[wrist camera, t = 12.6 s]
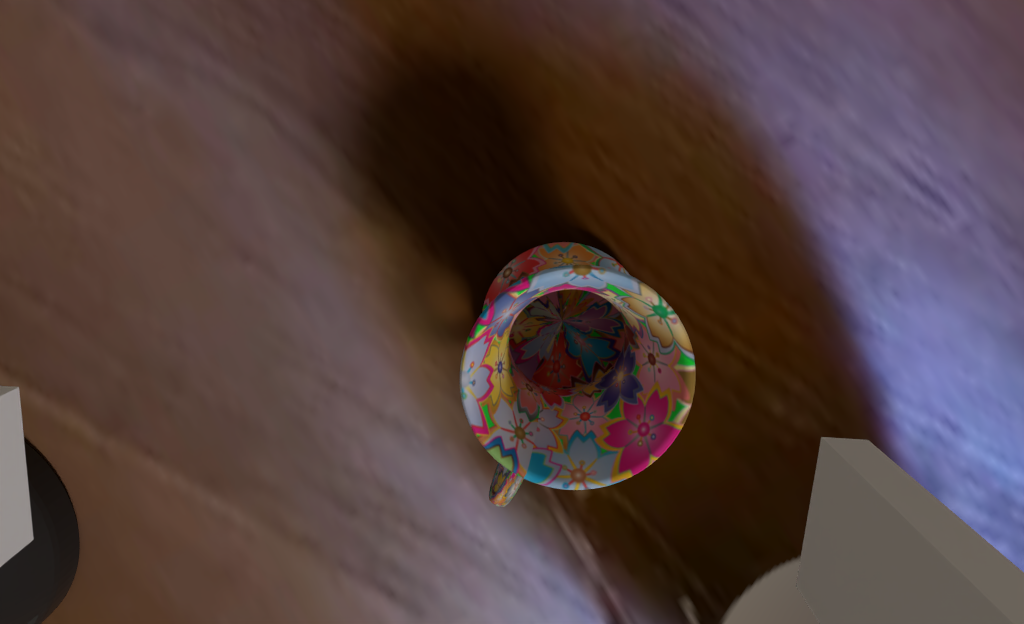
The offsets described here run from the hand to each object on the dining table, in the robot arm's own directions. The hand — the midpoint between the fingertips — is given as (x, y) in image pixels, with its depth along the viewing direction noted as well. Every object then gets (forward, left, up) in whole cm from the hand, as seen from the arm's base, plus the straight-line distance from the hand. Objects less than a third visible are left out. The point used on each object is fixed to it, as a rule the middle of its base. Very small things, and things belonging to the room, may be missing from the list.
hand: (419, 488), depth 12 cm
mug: (+4, -5, -27) cm, 28 cm away
